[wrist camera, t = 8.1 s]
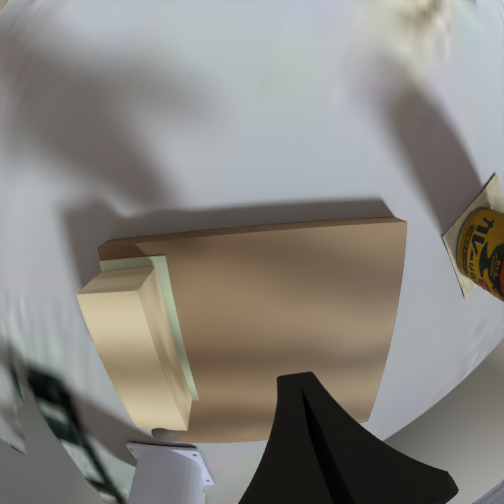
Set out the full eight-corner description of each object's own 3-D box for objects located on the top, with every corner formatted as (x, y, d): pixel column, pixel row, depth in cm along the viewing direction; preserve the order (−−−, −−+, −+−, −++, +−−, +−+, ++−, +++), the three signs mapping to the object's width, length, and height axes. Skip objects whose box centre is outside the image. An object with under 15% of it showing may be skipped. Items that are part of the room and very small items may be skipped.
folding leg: (197, 412, 18) (193, 443, 15) (153, 411, 18) (145, 440, 15) (155, 266, 14) (137, 290, 11) (100, 272, 14) (75, 294, 11)
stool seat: (362, 410, 22) (368, 422, 20) (169, 429, 21) (167, 442, 20) (394, 216, 16) (408, 222, 14) (107, 240, 16) (95, 248, 14)
